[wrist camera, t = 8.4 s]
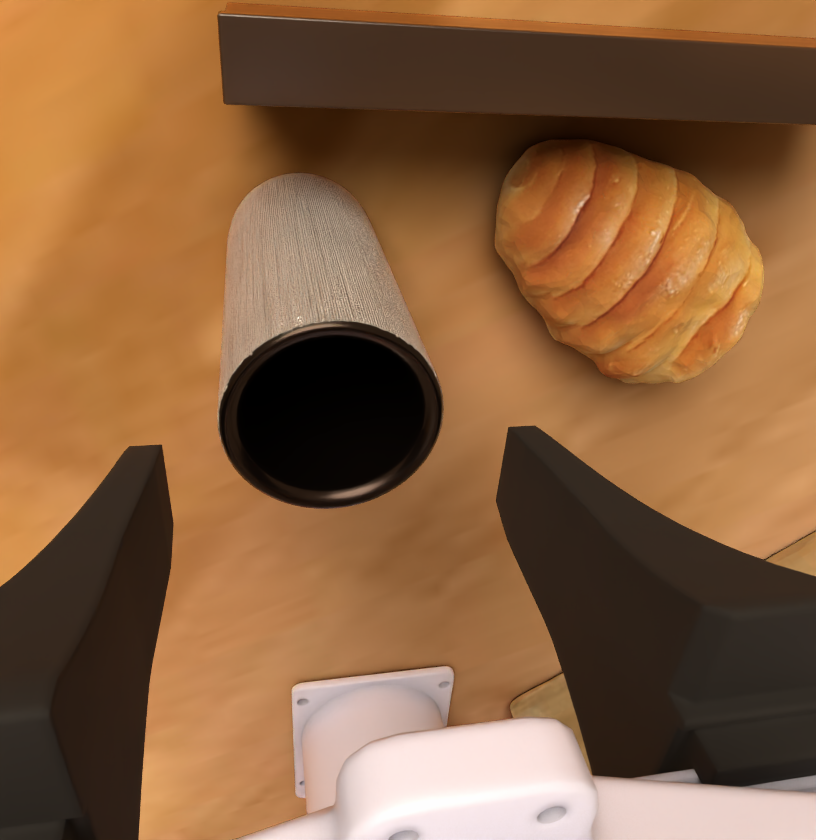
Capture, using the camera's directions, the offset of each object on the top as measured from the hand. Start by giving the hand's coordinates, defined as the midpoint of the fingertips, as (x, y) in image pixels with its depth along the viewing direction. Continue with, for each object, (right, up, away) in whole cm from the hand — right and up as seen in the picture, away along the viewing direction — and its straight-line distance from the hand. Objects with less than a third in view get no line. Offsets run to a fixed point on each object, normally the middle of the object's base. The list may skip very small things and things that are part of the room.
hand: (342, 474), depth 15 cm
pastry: (+8, +7, +10) cm, 15 cm away
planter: (-2, +7, +8) cm, 11 cm away
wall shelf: (+5, +12, +6) cm, 14 cm away
